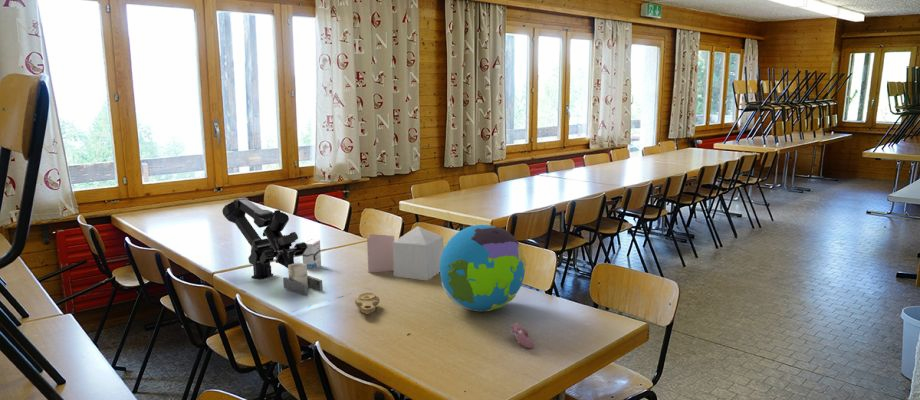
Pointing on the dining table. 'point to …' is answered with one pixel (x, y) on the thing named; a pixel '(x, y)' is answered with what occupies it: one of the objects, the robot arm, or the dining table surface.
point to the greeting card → (380, 253)
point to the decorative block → (417, 254)
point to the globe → (482, 267)
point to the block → (298, 272)
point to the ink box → (312, 254)
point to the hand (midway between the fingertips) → (293, 270)
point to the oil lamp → (367, 302)
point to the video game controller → (522, 336)
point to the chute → (302, 285)
